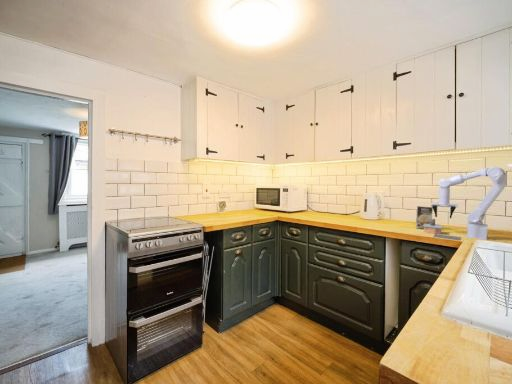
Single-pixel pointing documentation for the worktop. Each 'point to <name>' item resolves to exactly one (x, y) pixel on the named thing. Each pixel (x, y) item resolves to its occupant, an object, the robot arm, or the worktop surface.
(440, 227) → the lid
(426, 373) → the worktop surface
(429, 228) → the bowl
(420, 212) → the coffee box
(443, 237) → the mat
